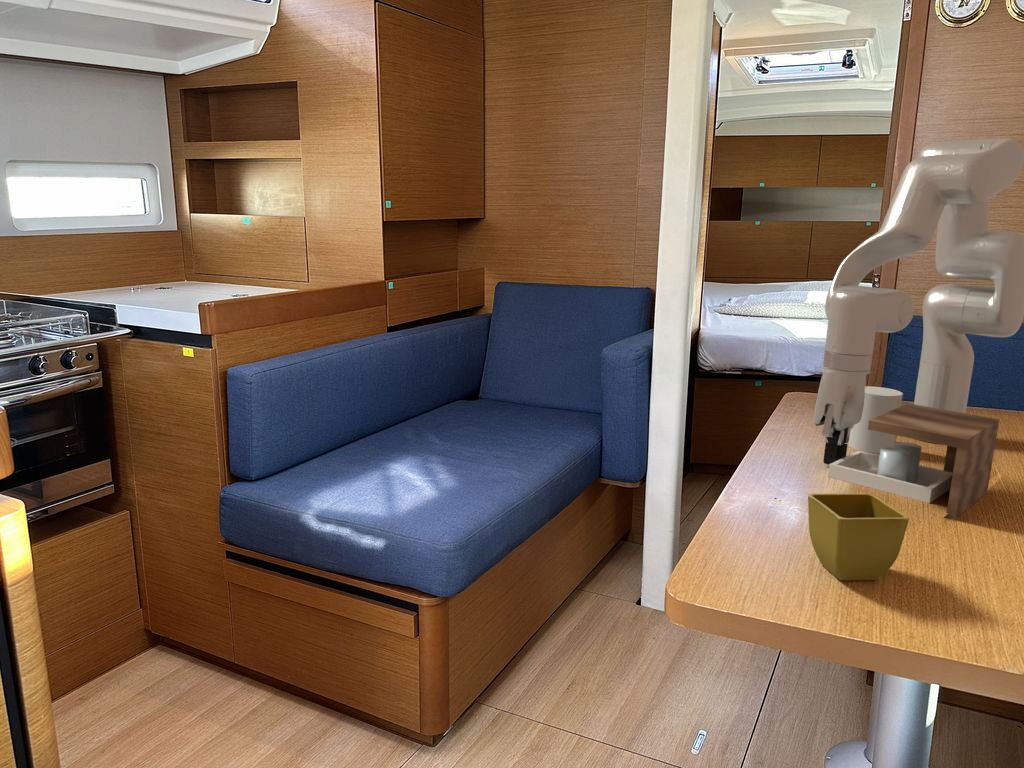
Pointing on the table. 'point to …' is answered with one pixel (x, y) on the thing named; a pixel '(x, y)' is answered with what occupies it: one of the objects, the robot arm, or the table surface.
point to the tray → (864, 473)
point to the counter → (949, 446)
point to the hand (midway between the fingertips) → (833, 464)
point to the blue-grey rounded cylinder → (893, 463)
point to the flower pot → (855, 534)
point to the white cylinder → (874, 406)
